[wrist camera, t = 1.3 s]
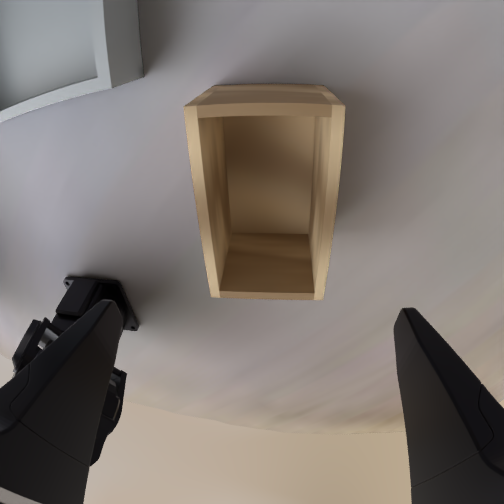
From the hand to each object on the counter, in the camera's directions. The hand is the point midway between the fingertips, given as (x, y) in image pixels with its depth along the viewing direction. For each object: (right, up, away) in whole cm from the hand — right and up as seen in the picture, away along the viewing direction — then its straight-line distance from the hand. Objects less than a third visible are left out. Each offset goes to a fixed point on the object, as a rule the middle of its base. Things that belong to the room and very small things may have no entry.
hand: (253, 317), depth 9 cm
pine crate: (+1, +7, +9) cm, 12 cm away
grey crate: (-13, +18, +2) cm, 22 cm away
